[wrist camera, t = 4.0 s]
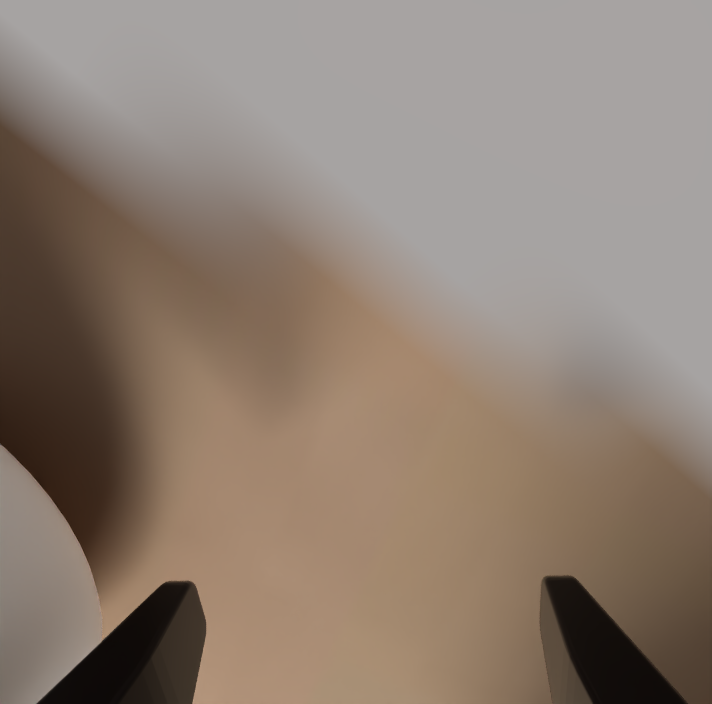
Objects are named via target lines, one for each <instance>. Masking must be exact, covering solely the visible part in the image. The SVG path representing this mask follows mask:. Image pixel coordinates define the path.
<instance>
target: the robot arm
mask: <svg viewBox="0 0 712 704" xmlns="http://www.w3.org/2000/svg"><path fill="white" fill-rule="evenodd" d="M540 631H541V638H542V644H543V650H544V656H545V662H546V668H547V674H548V679H549V685H550V691H551V697H552V703H553V704H688V703H687V702H686V701H685V700H684V698H683V697H682V696H681V695H680V694H679V693H678V692H677V691H676V690H675V688H674V687H673V686H672V685H671V684H670V683H669V682H668V681H667V680H666V678H665V677H664V676H663V675H662V674H661V673H660V672H659V671H658V669H657V668H656V667H655V666H654V665H653V664H652V663H651V662H650V661H649V659H648V658H647V657H646V656H645V655H644V654H643V653H642V652H641V650H640V649H639V648H638V647H637V646H636V645H635V644H634V643H633V642H632V640H631V639H630V638H629V637H628V636H627V635H626V634H625V633H624V632H623V630H622V629H621V628H620V627H619V626H618V625H617V624H616V623H615V621H614V620H613V619H612V618H611V617H610V616H609V615H608V614H607V613H606V611H605V610H604V609H603V608H602V607H601V606H600V605H599V604H598V602H597V601H596V600H595V599H594V598H593V597H592V596H591V595H590V594H589V592H588V591H587V590H586V589H585V588H584V587H583V586H582V585H581V583H580V582H579V581H578V580H577V579H576V578H574V577H572V576H569V575H563V576H545V577H544V578H543V579H542V583H541V601H540ZM205 637H206V619H205V615H204V612H203V609H202V605H201V602H200V598H199V595H198V591H197V588H196V586H195V584H194V583H193V582H191V581H168V582H165V583H163V584H162V585H161V586H160V587H158V588H157V589H156V590H155V591H154V592H153V593H152V594H151V595H150V596H149V597H148V598H147V599H146V600H145V601H144V602H143V603H142V604H141V605H140V606H138V607H137V608H136V609H135V610H134V611H133V612H132V613H131V614H130V615H129V616H128V617H127V618H126V619H125V620H124V621H123V622H122V623H121V624H120V625H118V626H117V627H116V628H115V629H114V630H113V631H112V632H111V633H110V634H109V635H108V636H107V637H106V638H105V639H104V640H103V641H102V642H101V643H100V644H98V645H97V646H96V647H95V648H94V649H93V650H92V651H91V652H90V653H89V654H88V655H87V656H86V657H85V658H84V659H83V660H82V661H81V662H80V663H78V664H77V665H76V666H75V667H74V668H73V669H72V670H71V671H70V672H69V673H68V674H67V675H66V676H65V677H64V678H63V679H62V680H61V681H60V682H58V683H57V684H56V685H55V686H54V687H53V688H52V689H51V690H50V691H49V692H48V693H47V694H46V695H45V696H44V697H43V698H42V699H41V700H40V701H38V702H37V703H36V704H192V702H193V697H194V692H195V687H196V682H197V677H198V672H199V667H200V662H201V657H202V652H203V647H204V642H205Z"/></svg>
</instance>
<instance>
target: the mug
mask: <svg viewBox="0 0 712 704" xmlns="http://www.w3.org/2000/svg"><path fill="white" fill-rule="evenodd" d="M101 642H102V614H101V608H100V601H99V596H98V592H97V589H96V585H95V582H94V579H93V575H92V572H91V569H90V566H89V564H88V561H87V559H86V557H85V555H84V552H83V550H82V548H81V545H80V543H79V542H78V540H77V538H76V536H75V535H74V533H73V531H72V529H71V528H70V526H69V524H68V522H67V521H66V519H65V518H64V516H63V515H62V513H61V512H60V511H59V509H58V508H57V506H56V505H55V503H54V502H53V501H52V499H51V498H50V496H49V495H48V494H47V493H46V492H45V490H44V489H43V488H42V487H41V486H40V484H39V483H38V482H37V481H36V480H35V479H34V477H33V476H32V475H31V474H30V473H29V472H28V471H27V470H26V469H25V468H24V466H23V465H22V464H21V463H20V462H19V461H18V460H17V459H16V458H15V457H14V456H13V455H12V454H11V453H10V452H9V451H8V450H7V449H6V448H4V447H3V446H2V445H1V444H0V704H36V703H37V702H38V701H40V700H41V699H42V698H43V697H44V696H45V695H46V694H47V693H48V692H49V691H50V690H51V689H52V688H53V687H54V686H55V685H56V684H57V683H58V682H60V681H61V680H62V679H63V678H64V677H65V676H66V675H67V674H68V673H69V672H70V671H71V670H72V669H73V668H74V667H75V666H76V665H77V664H78V663H80V662H81V661H82V660H83V659H84V658H85V657H86V656H87V655H88V654H89V653H90V652H91V651H92V650H93V649H94V648H95V647H96V646H97V645H98V644H100V643H101Z"/></svg>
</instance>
